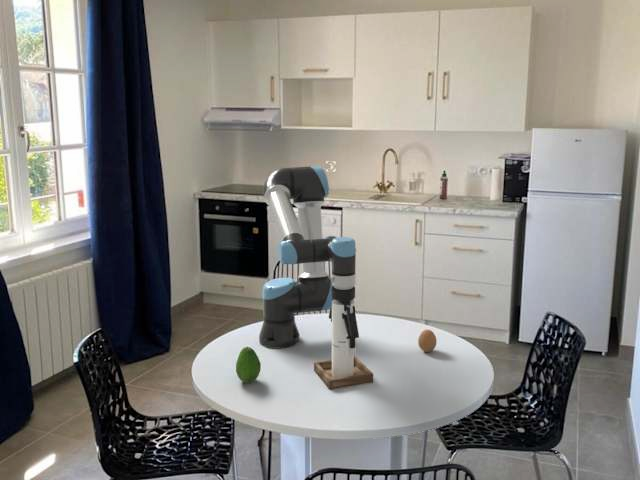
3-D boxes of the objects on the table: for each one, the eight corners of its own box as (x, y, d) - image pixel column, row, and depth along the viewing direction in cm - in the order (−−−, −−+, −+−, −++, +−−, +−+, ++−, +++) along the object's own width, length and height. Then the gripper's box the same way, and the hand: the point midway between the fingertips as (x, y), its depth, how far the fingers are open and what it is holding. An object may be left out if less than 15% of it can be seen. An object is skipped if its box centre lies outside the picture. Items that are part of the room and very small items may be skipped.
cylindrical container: (351, 379, 209) (352, 305, 203) (330, 377, 210) (329, 304, 204) (355, 370, 216) (355, 298, 210) (333, 368, 217) (333, 297, 211)
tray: (314, 370, 217) (313, 362, 217) (355, 364, 222) (355, 356, 222) (329, 389, 204) (329, 380, 203) (373, 382, 209) (373, 373, 208)
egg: (414, 350, 234) (414, 329, 232) (426, 346, 237) (427, 325, 236) (427, 356, 229) (428, 334, 227) (439, 352, 232) (440, 330, 230)
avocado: (237, 388, 205) (236, 352, 202) (235, 377, 213) (234, 343, 210) (262, 385, 207) (261, 350, 204) (259, 375, 214) (258, 341, 211)
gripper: (319, 276, 216) (319, 336, 221) (347, 299, 193) (346, 365, 198) (340, 274, 219) (339, 333, 223) (370, 296, 196) (369, 361, 201)
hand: (343, 348), depth 211 cm, fingers open, 13 cm apart
